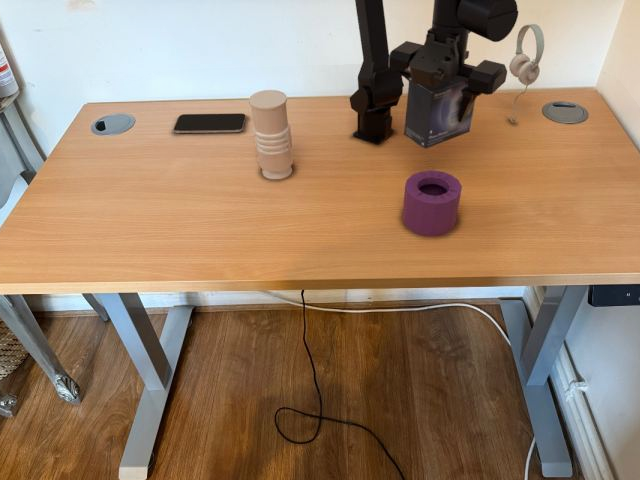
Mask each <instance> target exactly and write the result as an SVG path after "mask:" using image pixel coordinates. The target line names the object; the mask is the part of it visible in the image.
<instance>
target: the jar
mask: <svg viewBox="0 0 640 480" xmlns="http://www.w3.org/2000/svg"><path fill="white" fill-rule="evenodd" d="M462 188H463V186H462V183H461V182H460V180H459V179H458V178H456V177H455V176H454V175H453V174H450V173H448V172H445V171H441V170H434V169H429V170H421V171H418V172H415V173H412V174H411V175H410V176H409V177H408V178H407V179H406V181H405V185H404V195H403V208H402V220H403V223H404V225H405V227H406V228H407V229H408V230H410V231H411V232H413V233H415V234H417V235H420V236H426V237H439V236H443V235H445V234H448V233H449V232H451V231H452V230H453V229H454V228H455V226H456V224H457V218H458V213H459V207H460V201H461V196H462V195H461V194H462Z"/></svg>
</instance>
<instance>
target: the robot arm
mask: <svg viewBox="0 0 640 480" xmlns="http://www.w3.org/2000/svg"><path fill="white" fill-rule="evenodd" d="M354 2H355V10H356V17H357V23H358V30H359V38H360V45H361V52H362V59H363V61H362V63H361V66H360V69H359V71H358V74H357V87H358V89H356V90H355V91H354V93H352V95H351V96H350V97H349V104H350V108H351V110H353V111H354V112H356V114H357V129H356V130H355V131H354V132H353V133H352V137H354V138H358V139H359V140H363V141H366V142H369V143H371V144H374V145H380V144H381V143H382V142H383V141H384V140H386V139H388V138H389V137H390V136H391V135H392V134H393V133H395V129H393V115H391V114H392V108H393V107H397V106H398V105H399V102H400V99H401V97H402V96H403V92H404V91H403V89H404V87H405V84H404V81H403V78H405V80H407V81H408V82H409V78H411V80H412V82H413V83H415V84H422V85H425V86H428V87H429V88H437V87H438V86H439V85H440V84H441V82H443V81H445V80H446V81H450V82H451V81H452V80H453V78H454V77H455V76H456V75H457V76H461V77H465V78H469V79H468V85H467V86H465V87H464V88H463V89H462V90H461V92H462V95H463V97H462V102H461V107H460V112H459V120H458V122H459V123H461V122H462V121H463V120H464V118H465V116H466V115H467V113H468V111H469V109H470V108H471V106H472V104H473V102H474V101H475V102H476V99H477V97H480V96H481V95H482V94H483V95H487V96H488V95H493V94H494V93H495V92H496V91H497V90H498V89H500V87H502V85H504V83H506V80H507V76H508V69H507V67H506V64H504V63H501V62H496V61H491V60H488V59H484V60H482V61H481V62H480V63H479V64H477V65H472V64H469V63H465V62H466V60H467V59H469V57H470V51H469V50H467V49H468V41H469V34H471V33H473V34H475V35H478V36H479V37H481V38H484V39H486V40H488V41H491V42H493V43H498V42H499V43H500V42H502V41H503V40H504V39H506V38H507V37H508V36H509V35H510V34H511V32H512V30H513V29H514V28H515V25H516V23H517V21H518V17H519V10H518V4H517V1H516V0H433V8H432V9H433V11H432V21H431V27H430V28H429V29H427V31H426V32H427V33H426V35H425V41H424V43H423V44H421V43H418V42H417V43H416V42H412V41H408V40H405V41H404V42H403V43H401V44H400V45H398V46H397V47H395V48H394V49H392V50H391V51H390V50H389V42H388V32H387V25H386V16H385V9H384V8H385V7H384V0H354Z"/></svg>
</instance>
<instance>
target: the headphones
mask: <svg viewBox="0 0 640 480" xmlns="http://www.w3.org/2000/svg"><path fill="white" fill-rule="evenodd" d="M529 29H531V30H532V32H533V35H534V37H535V45H536V46H535V47H536V48H535V49H536V52H535V53H536V54H535V58H533V60H531V58H530V57H529V56H528V55H527V54H526V53H524V51H523V41H524V37H525V36H526V33H527V32H528V30H529ZM544 51H545V37H544V33H543V30H542V28H541V27H540V26H539V25H538V24H536V23H532V24H531V23H530V24H525V25H523V26H522V27H521V28H520V29H519V31H518V33H517V38H516V50H515V55H514V56H513V57H512V59H511V60H510V63H509V72H510V74H511V75H512V76H513V77H515V78H517V79H518V81H519V82H520V83H521V84H522V85H524V86H526V87H525V90H524V91H522V92H520V93H519V94H518V95H517V96H516V97H515V99H514V104H513V105H514V112H515V119H514V121H513V120H512V118H511V116H509V117H508V118H509V121H510V123H513V124H515V123H516V121H517V119H518V113H517V106H516V102H517V99H518V97H520V96H521V95H522V94H525V93H526V91H527V89H528V87H529V86H530V85H532V84H534V83H535V82H536V81H537V79H538V78H539V76H540V71H541V69H540V65H539V64H540V62H541V59H542V57H543V54H544Z"/></svg>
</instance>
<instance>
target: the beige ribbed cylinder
mask: <svg viewBox="0 0 640 480" xmlns="http://www.w3.org/2000/svg"><path fill="white" fill-rule="evenodd" d="M287 101H288V96H287V94H285V92H283V91H281V90H276V89H265V90H259V91H257V92H254V93H253V94H251V95H250V97H249V98H248V104H249V106H250V108H251V116H252V121H253V127H252V132H253V138H254V144H255V150H256V152H257V160H258V161H257V162H258V165H259V167H260V168H261V169H262V170H261V174H262V176H264V178H266V179H269V180H282V179H285V178H287V177H289V176H290V175H291V174H292V173H293V168H292V165H293V163H294V157H293V151H292V148H293V141H292V140H293V139H292V131H291V129H292V128H291V125H290V123H289V119H288V111H287Z"/></svg>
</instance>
